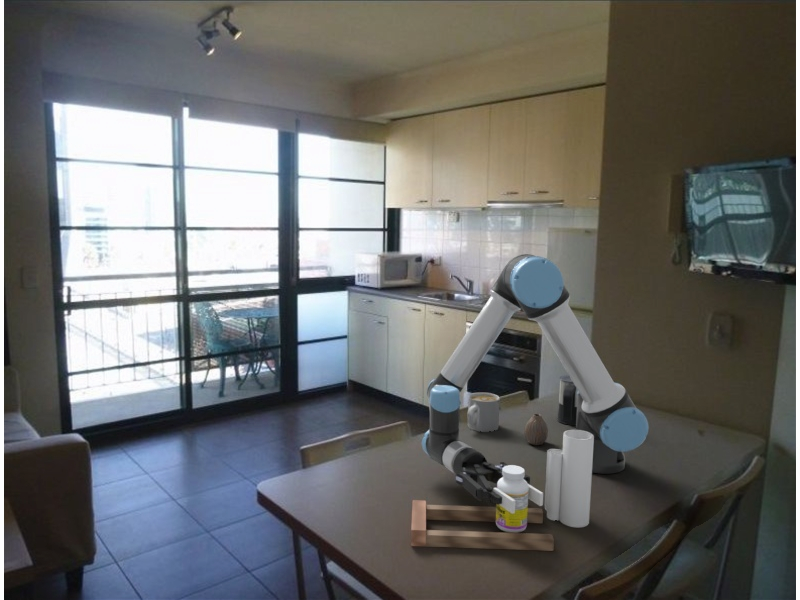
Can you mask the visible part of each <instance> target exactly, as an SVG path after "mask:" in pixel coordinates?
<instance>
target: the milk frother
mask: <svg viewBox="0 0 800 600" xmlns="http://www.w3.org/2000/svg"><path fill="white" fill-rule="evenodd" d="M558 392H559V393H558V394H559V395H558V410H557V418H556V420H557V422H559V423H562V424H565V425H569V426H576V418H577V398H578V395H577V392H578V390H577V388H576V386H575V384H574V383H573V381H572V379H571V378H570V376H569V374H567V375H561V376H559V391H558Z"/></svg>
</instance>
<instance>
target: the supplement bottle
mask: <svg viewBox="0 0 800 600" xmlns="http://www.w3.org/2000/svg"><path fill="white" fill-rule="evenodd" d="M507 465H508V464H507ZM525 473H526V471H525V468H523V467H522V466H519V465H515V464H509V465H508V466H504V467H503V468H502V475H503V477H502V478H500V479H499V480H498V483H497V484H496V488H498V489H499V490H501V491H502V492H504V493H505V494H507V495H508V496H510V497H511V498H513V499H514V500H515V513H513V514H512V513H510V512H509V511H507V510H506V509H505V508H503V507H502V506H500V505H499V504H496V503H495V507H496V522H495V525H496V526H497V528H498V529H499V530H501V531H503V532H504V533H523V531H526V528H527V526H528V523H527V513H528V508H529V506H528V505H529V499H528V491H529V486H528V483H527V482H526V481H525V480H524V479H523V478H524V476H525Z"/></svg>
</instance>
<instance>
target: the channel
mask: <svg viewBox="0 0 800 600" xmlns="http://www.w3.org/2000/svg"><path fill="white" fill-rule="evenodd" d="M411 504H412V508H411V526H410V527H411V529H410V531H411V532H410V534H411V535H410V547H427V548H428V547H431V548H432V547H433V548H434V547H435V548H457V549H458V548H461V549H462V548H463V549H485V550H486V549H487V550H488V549H489V550H490V549H493V550H518V551H519V550H520V551H522V550H523V551H545V552H548V551H552V552H553V551H554V547H555V545H554V544H555V539H554V536H553V534H552V533H532V532H531V533H527V532H525V533H524V532H518V533H509V532H499V531H497V532H494V531H473V530H472V531H470V530H442V529H441V530H438V529H435V530H434V529H427V520H430V521H432V520H433V521H457V522H459V521H461V522H463V521H464V522H490V523H491V522H493V523H494V522H495V523H496V506H483V505H482V506H480V505H479V506H478V505H477V506H476V505H475V506H474V505H450V504H449V505H448V504H447V505H446V504H427V501H426V500H424V499H423V500H421V499H418V500H417V499H412V503H411ZM543 521H544V511H543V508H542V507H541V508H540V507H528V513H527V524H528V523H529V524H543Z"/></svg>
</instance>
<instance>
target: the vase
mask: <svg viewBox="0 0 800 600" xmlns="http://www.w3.org/2000/svg"><path fill="white" fill-rule="evenodd" d="M548 435H549V429H548V424H547V422H546V421H545V420H544V419H543V416H542V414H539V413H534V414H532V416H531V417H530V419H528V421H527V422H526V424H525V427H524V436H525V439H526V441H527V442H528V443H529V444H531V445H533V446H540V445H543V444H545V442H546V441H547V439H548V437H549V436H548Z"/></svg>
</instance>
